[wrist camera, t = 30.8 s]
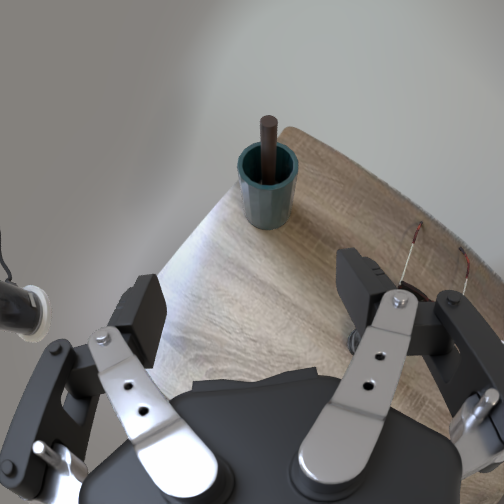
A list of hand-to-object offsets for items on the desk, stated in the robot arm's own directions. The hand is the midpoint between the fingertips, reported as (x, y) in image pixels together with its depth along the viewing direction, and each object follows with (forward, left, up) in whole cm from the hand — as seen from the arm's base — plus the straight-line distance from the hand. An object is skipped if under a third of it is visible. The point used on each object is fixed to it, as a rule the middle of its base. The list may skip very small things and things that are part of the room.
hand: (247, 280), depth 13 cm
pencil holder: (-9, +19, -35) cm, 41 cm away
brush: (-9, +19, -34) cm, 40 cm away
